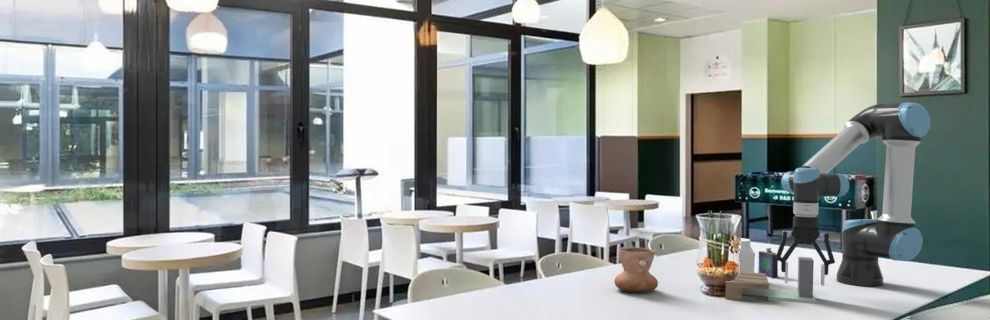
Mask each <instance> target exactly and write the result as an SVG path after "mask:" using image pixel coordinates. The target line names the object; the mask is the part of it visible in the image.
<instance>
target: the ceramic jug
mask: <svg viewBox="0 0 990 320" xmlns="http://www.w3.org/2000/svg"><path fill="white" fill-rule="evenodd" d="M618 256H619V260H620V263H621V266H622V268H623V271H622V272H619V274H617V275H616V276H615V277H614V281H613V282H614V285H615V287H616V288H618V290H621V291H623V292H625V293H632V294H645V293H650V292H652V291H654V290H656V289H657V288H658V285H659V280H658V279H657V278H656V276H654V275H653V274H652V273H650V269H651V267H652V264H653V261H654V259H655V256H656V250H654V249H650V248H645V247H639V246H638V247H636V246H628V247H626V246H624V247H619V248H618Z"/></svg>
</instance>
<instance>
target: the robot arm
mask: <svg viewBox="0 0 990 320" xmlns="http://www.w3.org/2000/svg"><path fill="white" fill-rule="evenodd" d="M931 124H932V123H931V117H930V114H929V111H928V110H926V108H925V106H924V105H922V104H920V103H918V102H906V101H905V102H895V103H894V102H893V103H890V102H889V103H877V104H874V105H871V106H868V107H867V108H864V109H863V110H861V111H860V112H858V113H857V114H856V115H854V116H853V117H851V118H850V119H849V120H848V121H847V122H845V124H844V125H843V129H842V130H841V131H840V132H839V133H838V134H836V135H835V136H833V138H831V140H830V141H829V142H827V143H826V144H825V145H824V146H823V147H821V149H820V150H819V151H817V152H816V153H815V154H814V155H813V156H812V157H811V158H809V159H808V160H807V161H806V162H805V163H804V164H803V165H802V166H801V167H797V168H795V170H793V171H787V172H785V173H784V174H783V175H782V178H781V181H780V182H781V187H782V189H783V190H784V191H785V192H787V193H790V194H793V203H792V204H793V206H792V209H793V210H792V212H793V214H794V216H793V217H792V229H791V230H782V235H781V236H782V238H781V241H780V243H779V246H778V249H777V252H776V253H775V254H776V260H778V261H779V262H780V263H781V265H780V266H781V267H780V270H781V272H782V273H784V283H785V284H788V283H789V279H788V278H789V277H788V275H789V263H788V259H790V256H791V255H792V253H793V252H794V251H795V249H796V248H797V246H798V245H808V246H809V245H810V246H811V245H812V246H813V247H814V250H815V251H816V253H817V254H818V256H819V257H820V259H821V261H822V262H823V263H821V264H820V265H821V266H820V285H821V286H822V287H823V286H825V279H826V278H825V276H828V275H829V266H830V265H832V264H835V262H836V261H835V258H834V255H833V251H832V247H831V245H830V244H831V243H830V242H829V239H830V238H829V236H830V234H829V233H828V232H820V231H819V217H818V215H819V206H820V205H819V204H820V201H819V199H820V198H821V197H822V198H825V197H826V198H827V197H829V198H830V197H831V198H832V197H833V198H837V197H843V196H845V195H846V194H847V193H848V192H849V189H850V182H849V181H850V180H849V179H848V177H846V175H844V174H842V173H830V172H831V171H832V170H833V169H834V168H835V167H836V166H837V165H839V163H840V162H842V161H843V160H844V159H846V158H847V156H848V155H850V154H851V153H852V152H853V151H854V150H855V149H856V148H858V147H859V146H860V144H861V145H863V144H866V143H868V142H869V141H870V140H871V139H874V138H878V137H882V139H881V141H882V143H883V144H884V145H885V146H886V150H885V151H886V153H885V167H884V168H885V169H884V183H883V198H882V213H881V215H880V216H879V217H878V218H871V219H870V218H869V219H866V218H865V219H862V218H861V219H847V220H845V221H844V222H843V226H842V227H843V228H842V245H841V247H842V253H841V255H842V258H841V259H842V260H841V262H840V265H839V267H838V270H837V273H836V281H837V282H838V283H842V284H845V285H853V286H861V287H879V286H883V285H884V276H883V273H882V270H881V267H880V264H879V258H882V259H883V258H884V259H889V260H892V261H901V262H907V261H911V260H914V258H916V256H918V254H920V252H921V249H922V247H923V244H924V243H923V241H924V240H923V239H924V238H923V234H922V233H921V230H919V229H918V228H916V221H915V220H914V219H913V218H912V204H913V203H912V202H913V190H914V189H913V188H914V187H913V186H914V174H915V173H914V172H915V160H916V159H915V156H916V147H917V146H919V145H920V144H921V143H922V137H924V136H926V135H927V134H928V132H929V131H930V129H931ZM791 235H792V237H793V239H794V240H793V241H792V243H791V244H790V245H789V247H788V249H787V250H786V252H785V253H784V254H782V253H783V251H784V249H785V246H786V243H787V240H788V238H790V236H791ZM819 237H821V239H822V240H823V244H824V246H825V249H826V253H827V256H828V259H827V257H826V255H824V253H823V251H822V250H821V248H820V246H819V245H818V243H817V241H816V240H817V239H818V238H819ZM782 255H783V256H782Z"/></svg>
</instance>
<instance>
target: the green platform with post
mask: <svg viewBox="0 0 990 320" xmlns="http://www.w3.org/2000/svg"><path fill="white" fill-rule="evenodd" d="M797 259H798V264H797V267H798V268H797V271H798V272H797V290H791V289H790V290H789V289H774V288H769V289H756V288H742V294H743V295H756V296H768V301H780V302H781V301H782V302H793V303H804V304H805V303H807V304H816V298H815V297H814V264H815V263H814V261H815V260H814V258H813V257H807V256H805V257H803V256H798V258H797Z"/></svg>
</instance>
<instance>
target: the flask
mask: <svg viewBox="0 0 990 320" xmlns="http://www.w3.org/2000/svg"><path fill="white" fill-rule="evenodd" d="M771 249H772V247H767V248H766V247H765V250H766V251H765V250H758V270H757V273H765V274H766V275H767V277H768V276H769V277H768V278H771V279H779V278H778V276H779V275H778V273H779V272H778V271H779V270H778V269H779V268H778V267H779V266H778V264H779V262H778V260H776V254H777V253H776V252H775V251H774V252H773V251H772V250H771Z"/></svg>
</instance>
